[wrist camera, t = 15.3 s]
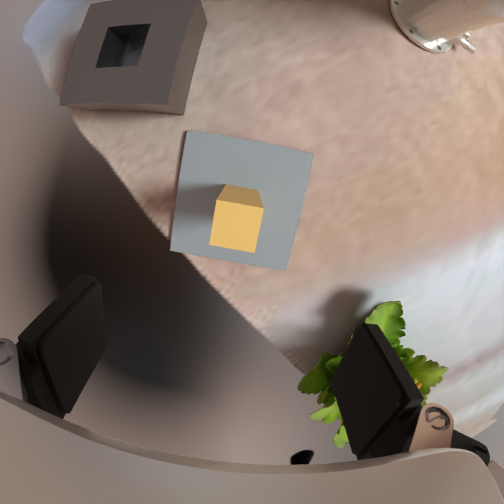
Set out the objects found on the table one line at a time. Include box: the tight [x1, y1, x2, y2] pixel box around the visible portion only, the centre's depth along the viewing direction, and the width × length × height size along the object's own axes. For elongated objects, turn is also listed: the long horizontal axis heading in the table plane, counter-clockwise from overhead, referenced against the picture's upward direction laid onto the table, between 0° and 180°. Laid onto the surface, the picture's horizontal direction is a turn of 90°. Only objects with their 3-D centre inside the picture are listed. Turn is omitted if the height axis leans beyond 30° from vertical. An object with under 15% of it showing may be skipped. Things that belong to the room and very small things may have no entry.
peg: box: [209, 184, 264, 253], centre depth 29 cm, size 4×4×12 cm
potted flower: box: [298, 301, 448, 449], centre depth 37 cm, size 25×24×18 cm
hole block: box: [60, 0, 207, 115], centre depth 25 cm, size 14×14×8 cm
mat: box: [170, 130, 314, 271], centre depth 35 cm, size 16×16×1 cm
